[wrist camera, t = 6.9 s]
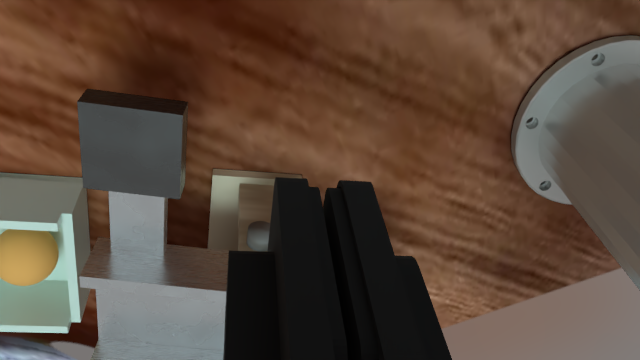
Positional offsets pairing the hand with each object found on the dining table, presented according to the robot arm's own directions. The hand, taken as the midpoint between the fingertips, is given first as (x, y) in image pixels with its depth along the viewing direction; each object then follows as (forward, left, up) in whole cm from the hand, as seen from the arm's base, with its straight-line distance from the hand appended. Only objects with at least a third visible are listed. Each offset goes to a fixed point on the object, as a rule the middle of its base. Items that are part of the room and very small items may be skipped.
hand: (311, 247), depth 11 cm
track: (-1, +16, -22) cm, 27 cm away
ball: (+13, +21, -24) cm, 35 cm away
